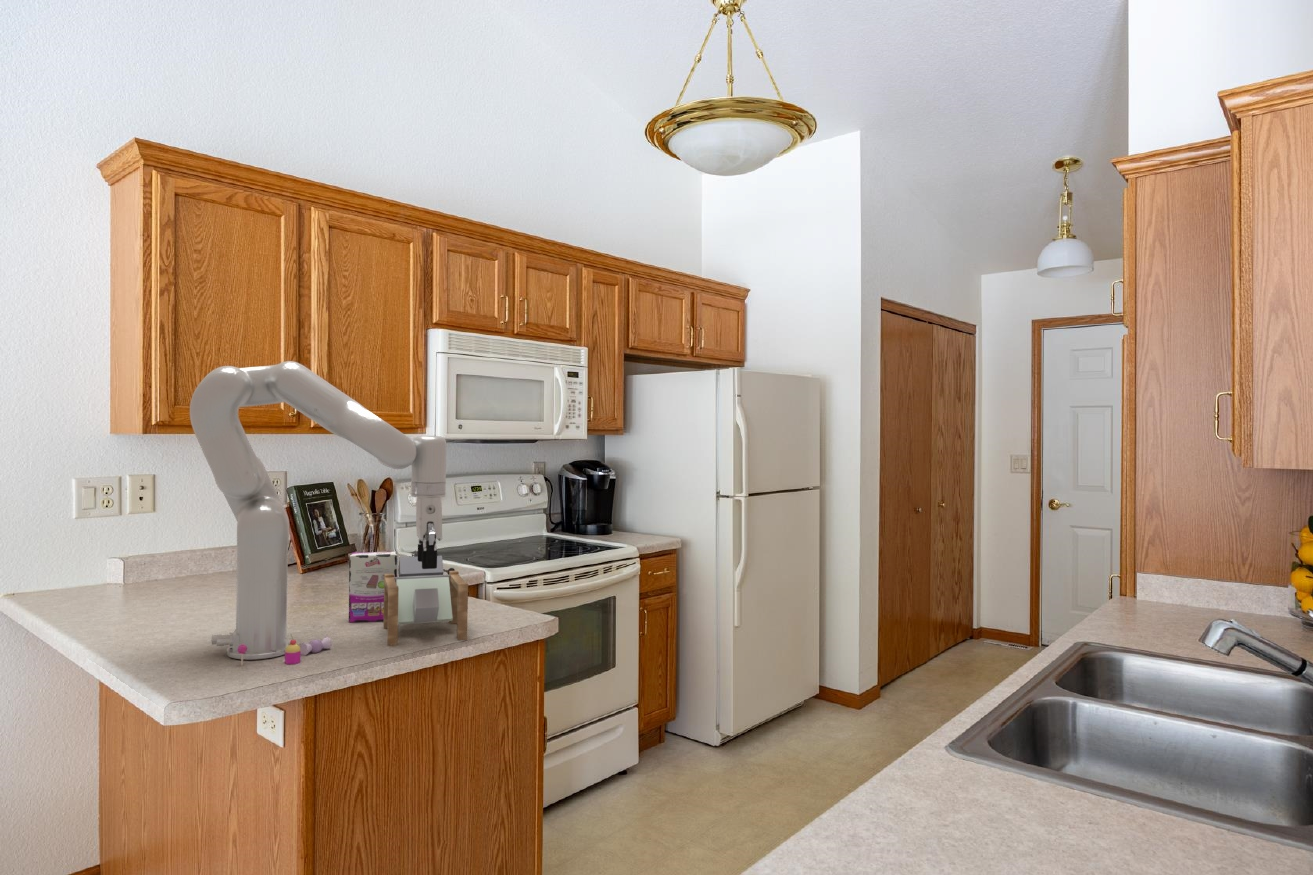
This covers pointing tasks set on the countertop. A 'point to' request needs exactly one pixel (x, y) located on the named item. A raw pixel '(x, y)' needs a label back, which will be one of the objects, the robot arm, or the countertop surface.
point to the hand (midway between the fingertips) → (426, 564)
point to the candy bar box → (369, 584)
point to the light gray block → (425, 605)
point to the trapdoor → (421, 579)
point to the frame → (457, 602)
